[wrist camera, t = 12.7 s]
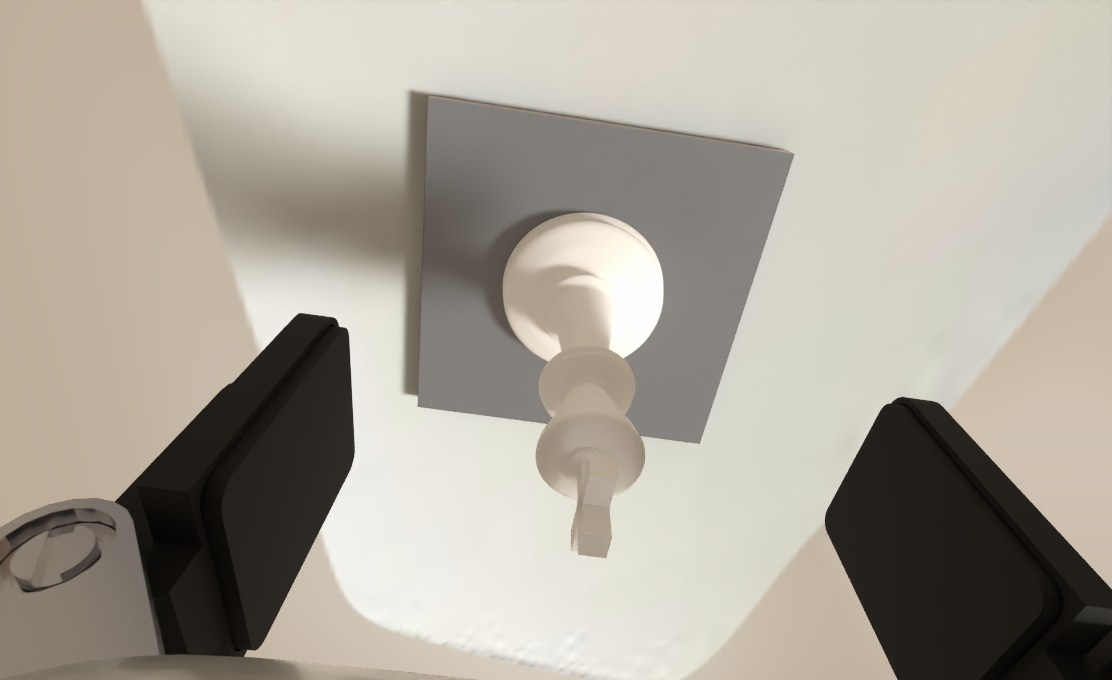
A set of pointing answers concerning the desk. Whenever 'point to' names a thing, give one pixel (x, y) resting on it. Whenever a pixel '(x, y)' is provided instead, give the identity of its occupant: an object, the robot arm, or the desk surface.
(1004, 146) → the desk surface
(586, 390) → the chess piece
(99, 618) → the robot arm
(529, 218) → the coaster
